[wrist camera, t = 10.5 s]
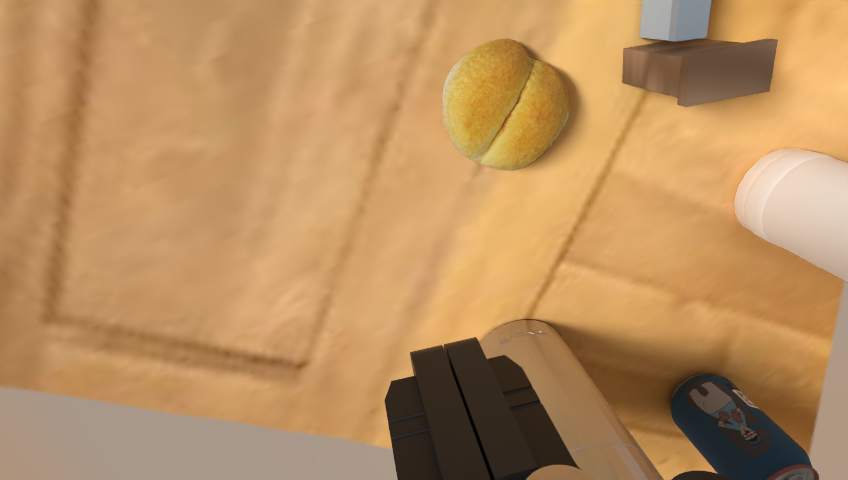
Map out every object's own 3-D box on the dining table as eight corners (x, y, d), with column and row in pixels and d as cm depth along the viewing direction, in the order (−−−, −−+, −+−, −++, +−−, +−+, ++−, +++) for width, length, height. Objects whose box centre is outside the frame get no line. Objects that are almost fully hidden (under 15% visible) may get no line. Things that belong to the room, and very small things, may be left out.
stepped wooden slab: (687, 75, 38) (769, 91, 31) (618, 87, 38) (685, 106, 31) (691, 32, 37) (777, 39, 30) (619, 44, 36) (690, 55, 30)
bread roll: (477, 17, 34) (495, 19, 31) (575, 86, 37) (601, 95, 34) (414, 125, 36) (424, 138, 33) (511, 181, 40) (530, 199, 36)
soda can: (696, 426, 56) (785, 527, 45) (651, 410, 53) (734, 512, 43) (738, 379, 54) (841, 473, 43) (693, 359, 51) (792, 454, 41)
